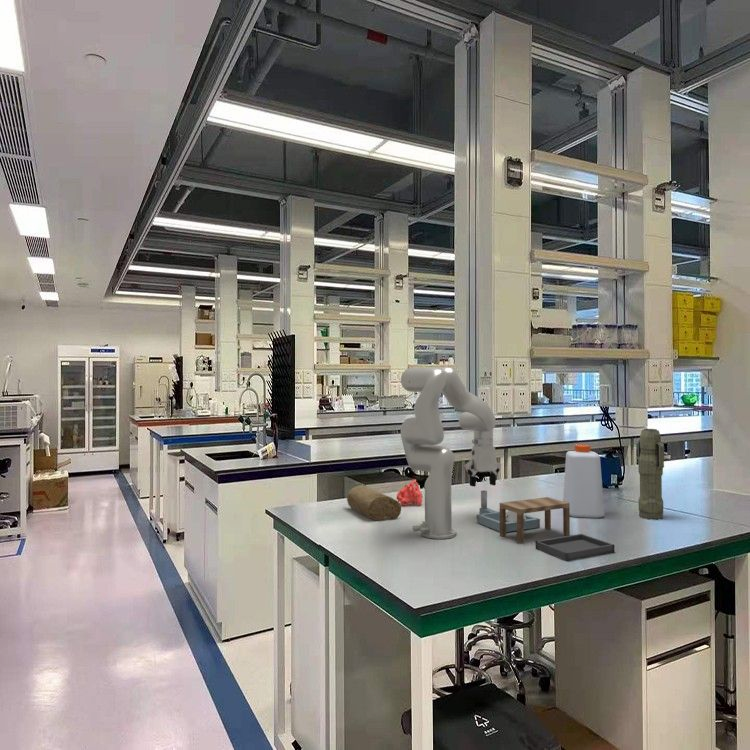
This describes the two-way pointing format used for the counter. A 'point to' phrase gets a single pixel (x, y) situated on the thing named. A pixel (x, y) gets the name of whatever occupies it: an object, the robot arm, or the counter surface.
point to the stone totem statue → (650, 474)
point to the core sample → (373, 503)
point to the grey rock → (512, 516)
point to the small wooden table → (534, 506)
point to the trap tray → (574, 547)
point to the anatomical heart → (410, 494)
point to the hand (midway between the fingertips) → (482, 485)
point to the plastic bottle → (583, 483)
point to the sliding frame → (493, 517)
